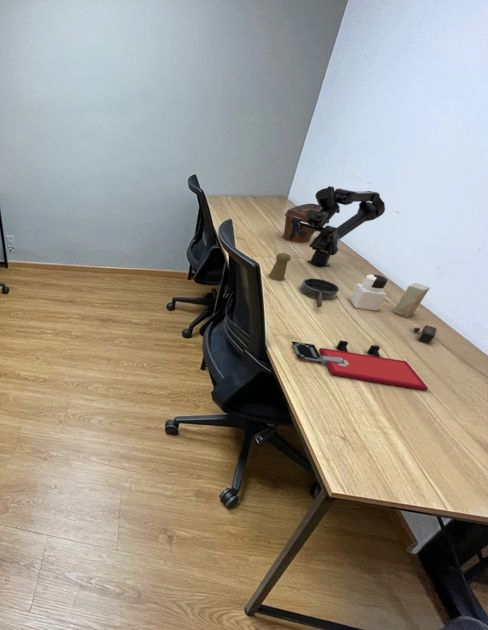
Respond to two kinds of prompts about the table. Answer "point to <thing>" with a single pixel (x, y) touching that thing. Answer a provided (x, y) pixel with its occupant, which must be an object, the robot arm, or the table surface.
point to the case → (301, 213)
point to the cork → (280, 266)
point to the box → (411, 299)
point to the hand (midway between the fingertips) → (299, 243)
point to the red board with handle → (362, 365)
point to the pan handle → (319, 299)
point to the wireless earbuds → (426, 333)
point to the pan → (319, 288)
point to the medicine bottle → (369, 293)
